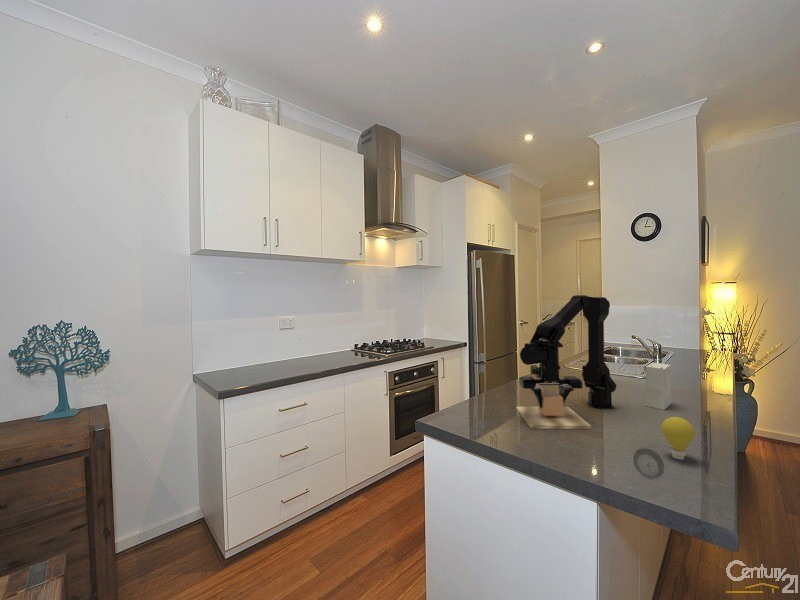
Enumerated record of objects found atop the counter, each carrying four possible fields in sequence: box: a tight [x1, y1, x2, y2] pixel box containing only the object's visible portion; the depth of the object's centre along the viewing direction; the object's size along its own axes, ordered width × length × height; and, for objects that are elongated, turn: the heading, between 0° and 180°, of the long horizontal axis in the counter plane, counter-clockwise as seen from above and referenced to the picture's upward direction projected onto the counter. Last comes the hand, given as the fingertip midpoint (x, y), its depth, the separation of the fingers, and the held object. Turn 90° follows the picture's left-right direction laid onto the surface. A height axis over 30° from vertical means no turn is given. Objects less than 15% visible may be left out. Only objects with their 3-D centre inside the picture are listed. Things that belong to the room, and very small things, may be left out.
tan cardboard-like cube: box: [538, 391, 564, 416], centre depth 116 cm, size 6×6×6 cm
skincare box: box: [645, 362, 672, 411], centre depth 125 cm, size 8×6×15 cm
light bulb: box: [660, 416, 696, 460], centre depth 87 cm, size 7×7×10 cm
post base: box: [515, 406, 592, 430], centre depth 116 cm, size 18×18×6 cm
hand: (550, 407), depth 116 cm, fingers closed on tan cardboard-like cube, 6 cm apart
